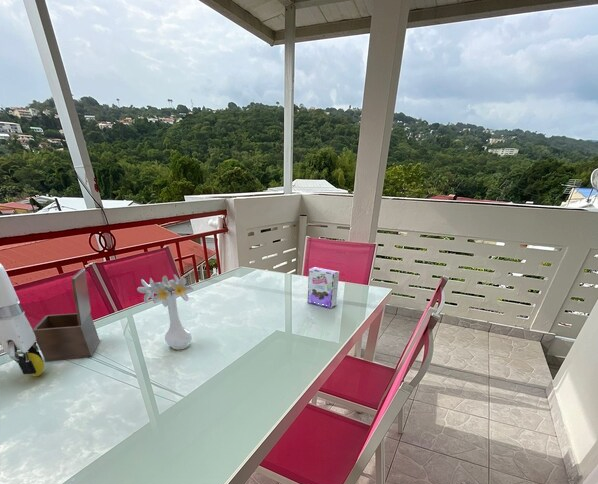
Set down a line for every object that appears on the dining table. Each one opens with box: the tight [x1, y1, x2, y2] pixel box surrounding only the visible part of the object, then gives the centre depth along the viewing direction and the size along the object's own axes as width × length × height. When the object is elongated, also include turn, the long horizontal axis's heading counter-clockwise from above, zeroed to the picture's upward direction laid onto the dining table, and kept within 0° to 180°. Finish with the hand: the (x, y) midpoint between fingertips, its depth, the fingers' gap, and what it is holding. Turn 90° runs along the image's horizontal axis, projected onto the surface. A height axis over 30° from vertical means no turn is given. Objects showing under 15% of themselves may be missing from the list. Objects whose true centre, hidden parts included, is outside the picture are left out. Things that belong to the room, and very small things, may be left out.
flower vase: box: [136, 273, 194, 351], centre depth 114 cm, size 13×18×25 cm
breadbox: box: [32, 312, 100, 362], centre depth 113 cm, size 14×14×11 cm
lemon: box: [21, 353, 46, 377], centre depth 99 cm, size 6×6×8 cm
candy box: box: [307, 266, 340, 309], centre depth 160 cm, size 14×6×16 cm, turn 55°
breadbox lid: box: [70, 267, 92, 325], centre depth 108 cm, size 15×14×1 cm
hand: (34, 367), depth 100 cm, fingers closed on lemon, 5 cm apart
